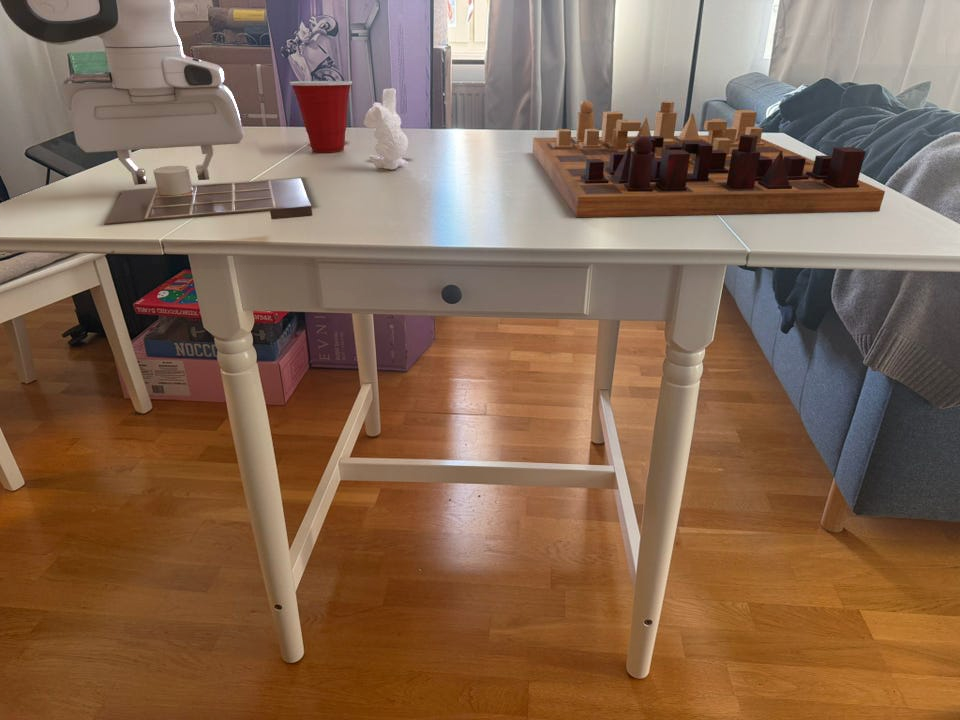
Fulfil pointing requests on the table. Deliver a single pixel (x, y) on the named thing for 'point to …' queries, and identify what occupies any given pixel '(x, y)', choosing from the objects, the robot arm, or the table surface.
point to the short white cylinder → (173, 180)
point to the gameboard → (695, 170)
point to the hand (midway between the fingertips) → (173, 181)
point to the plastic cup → (324, 112)
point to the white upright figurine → (387, 132)
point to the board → (214, 201)
